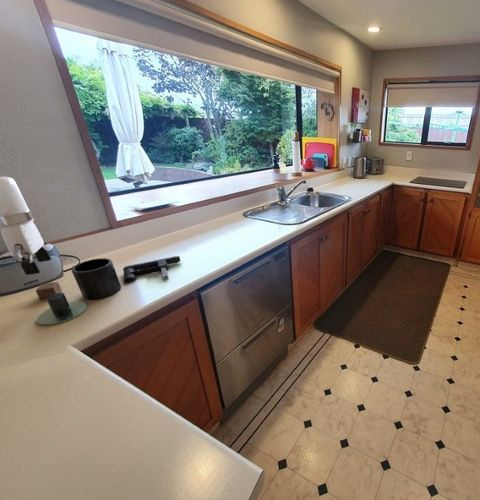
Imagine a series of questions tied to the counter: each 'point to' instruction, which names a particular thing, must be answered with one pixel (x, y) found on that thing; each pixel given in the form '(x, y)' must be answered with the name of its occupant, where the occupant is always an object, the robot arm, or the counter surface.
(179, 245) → the counter surface
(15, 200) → the robot arm
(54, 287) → the block
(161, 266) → the door handle
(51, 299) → the lid
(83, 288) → the canister
